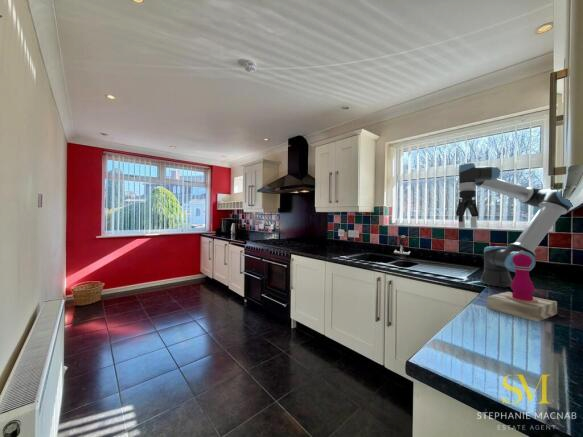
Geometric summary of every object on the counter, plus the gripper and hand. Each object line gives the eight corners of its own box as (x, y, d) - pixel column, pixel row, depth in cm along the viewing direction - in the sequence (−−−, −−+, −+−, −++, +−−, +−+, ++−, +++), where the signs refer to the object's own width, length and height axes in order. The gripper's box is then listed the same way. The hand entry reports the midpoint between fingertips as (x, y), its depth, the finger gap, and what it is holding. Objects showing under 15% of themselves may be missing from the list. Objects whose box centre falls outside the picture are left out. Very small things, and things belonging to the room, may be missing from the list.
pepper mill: (506, 296, 103) (506, 249, 104) (518, 295, 105) (517, 249, 106) (526, 301, 96) (526, 251, 97) (539, 300, 98) (538, 251, 99)
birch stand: (507, 302, 112) (507, 291, 112) (557, 314, 98) (556, 300, 98) (487, 308, 104) (487, 295, 104) (537, 321, 90) (537, 307, 90)
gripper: (463, 188, 128) (464, 228, 128) (485, 191, 141) (486, 227, 140) (448, 190, 135) (448, 227, 134) (470, 192, 147) (471, 227, 147)
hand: (467, 227), depth 137 cm, fingers open, 13 cm apart
